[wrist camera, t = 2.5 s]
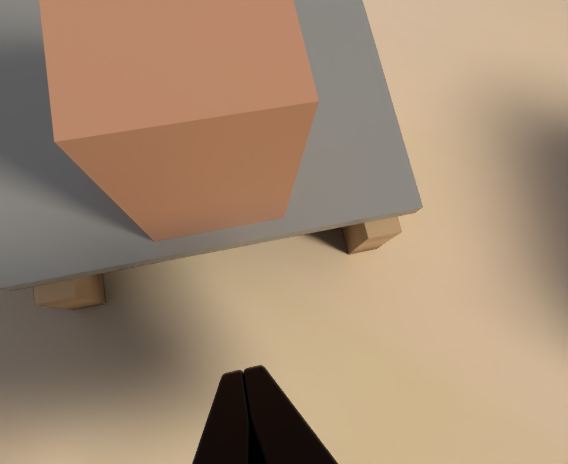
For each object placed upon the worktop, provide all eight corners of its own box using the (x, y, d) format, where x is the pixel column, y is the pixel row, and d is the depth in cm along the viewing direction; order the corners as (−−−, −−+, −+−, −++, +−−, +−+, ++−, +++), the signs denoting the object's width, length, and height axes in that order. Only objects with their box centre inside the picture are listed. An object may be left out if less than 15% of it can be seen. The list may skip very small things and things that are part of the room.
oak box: (376, 248, 18) (401, 232, 15) (72, 309, 16) (34, 304, 13) (276, -133, 22) (280, -205, 19) (27, -112, 21) (-10, -186, 18)
